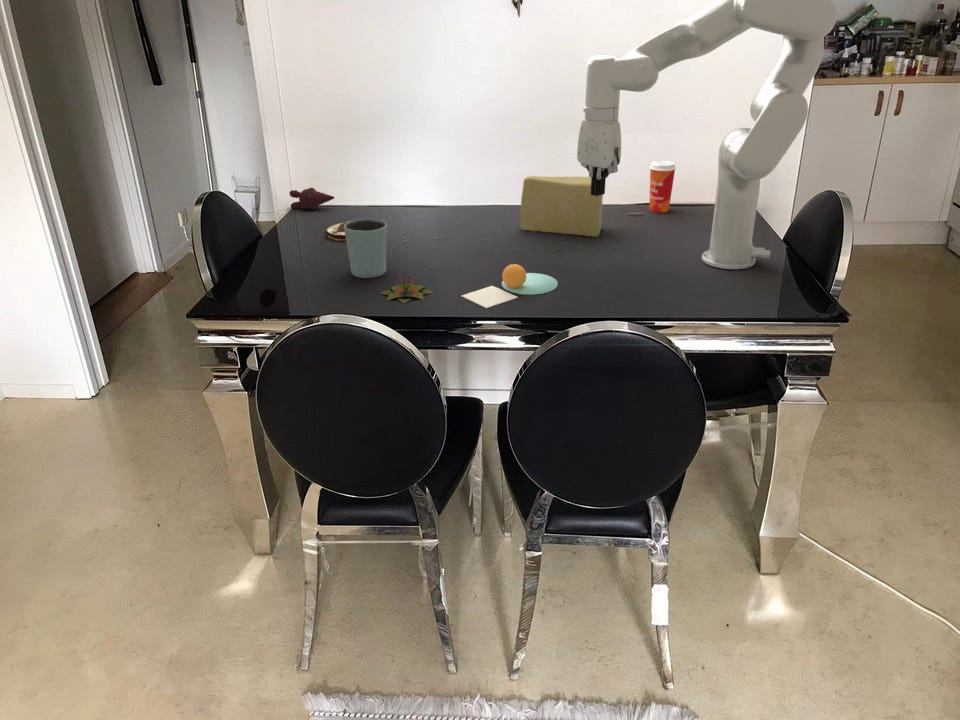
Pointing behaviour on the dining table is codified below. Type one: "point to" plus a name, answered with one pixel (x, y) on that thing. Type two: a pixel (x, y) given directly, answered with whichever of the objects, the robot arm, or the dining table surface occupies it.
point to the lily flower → (397, 290)
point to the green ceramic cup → (366, 247)
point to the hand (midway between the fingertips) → (597, 194)
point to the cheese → (560, 206)
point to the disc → (534, 284)
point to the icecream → (309, 198)
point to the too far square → (489, 296)
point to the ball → (514, 276)
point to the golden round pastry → (337, 232)
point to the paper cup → (661, 185)
